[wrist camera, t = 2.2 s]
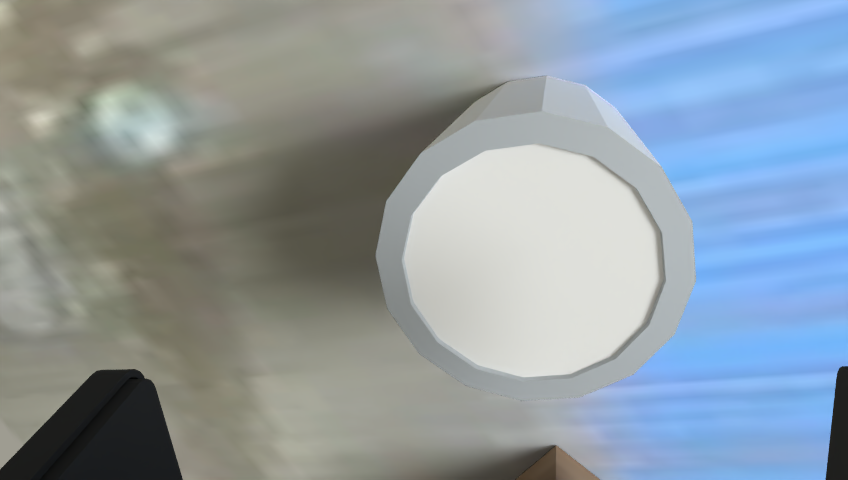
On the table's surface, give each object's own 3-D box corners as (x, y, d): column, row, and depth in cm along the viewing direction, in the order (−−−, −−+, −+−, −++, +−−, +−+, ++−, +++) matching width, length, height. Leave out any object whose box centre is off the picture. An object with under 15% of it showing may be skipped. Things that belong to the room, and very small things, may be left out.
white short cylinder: (472, 299, 25) (441, 432, 18) (391, 101, 23) (324, 175, 16) (687, 238, 23) (734, 364, 17) (620, 16, 21) (645, 62, 14)
